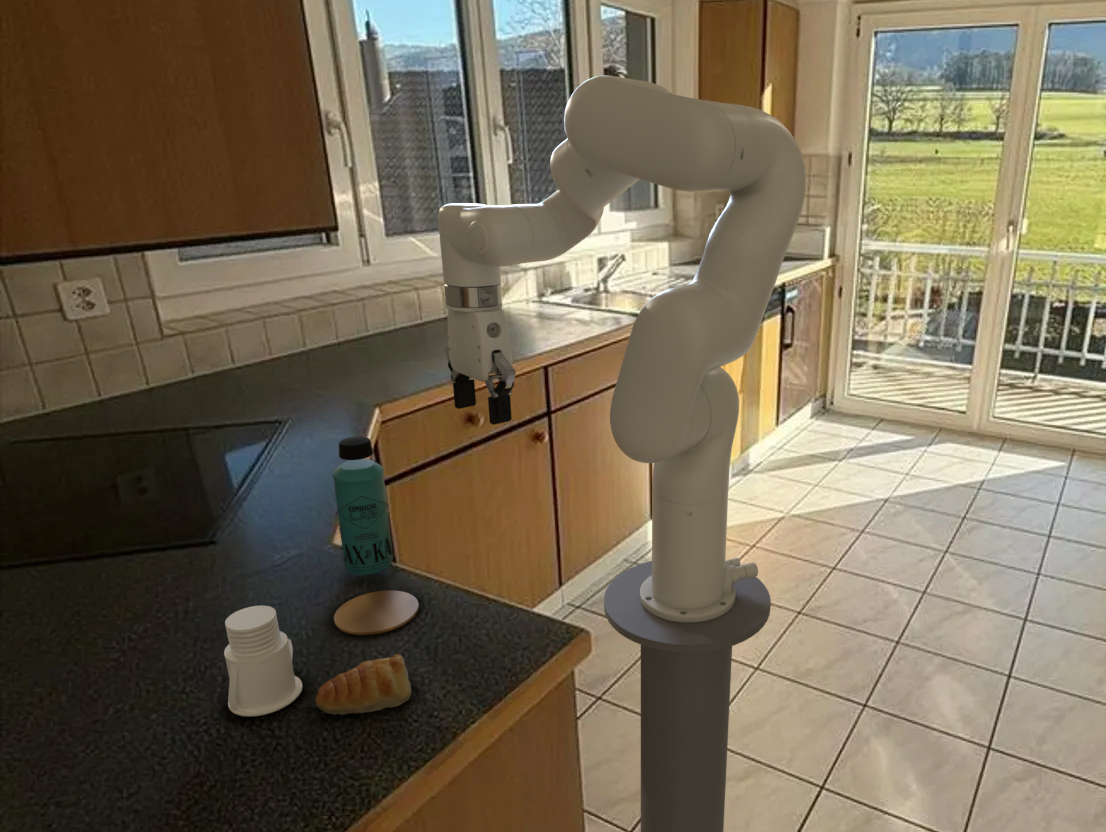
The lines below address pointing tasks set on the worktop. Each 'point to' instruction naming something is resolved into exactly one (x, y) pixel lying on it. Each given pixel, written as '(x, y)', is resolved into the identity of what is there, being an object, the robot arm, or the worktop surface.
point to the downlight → (259, 663)
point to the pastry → (366, 687)
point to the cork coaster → (376, 612)
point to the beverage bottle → (362, 509)
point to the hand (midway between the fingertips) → (482, 414)
